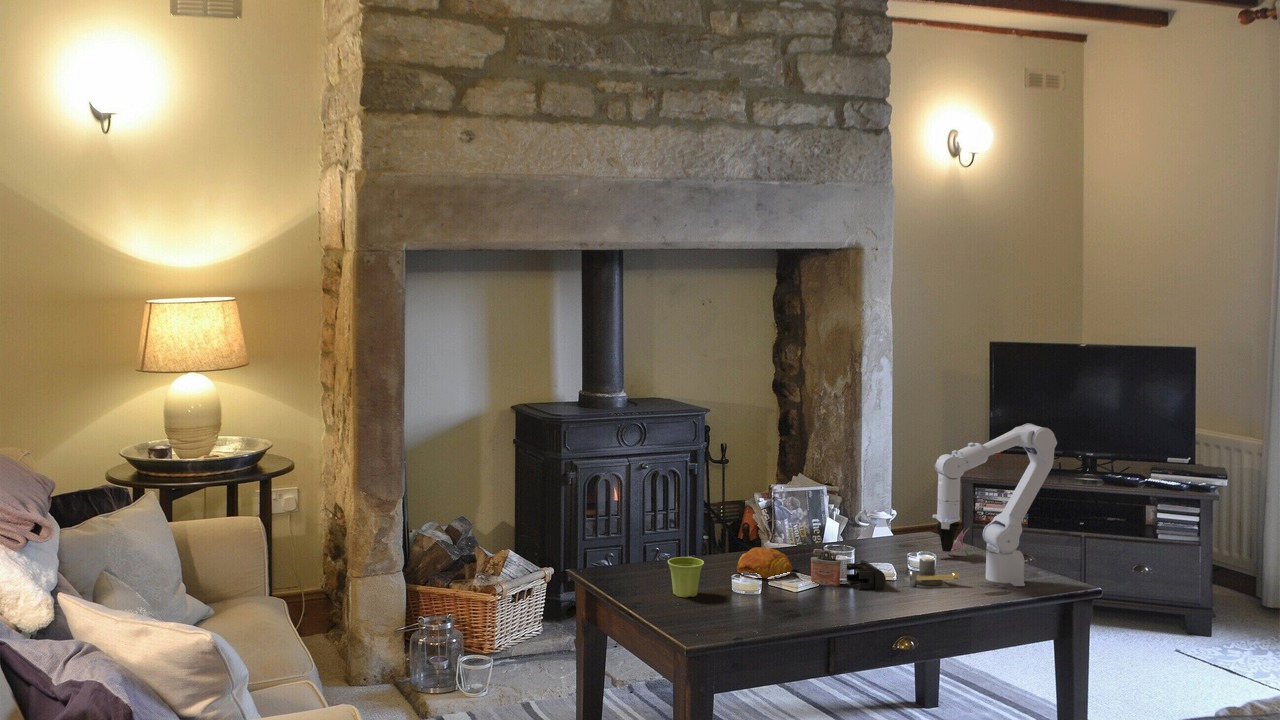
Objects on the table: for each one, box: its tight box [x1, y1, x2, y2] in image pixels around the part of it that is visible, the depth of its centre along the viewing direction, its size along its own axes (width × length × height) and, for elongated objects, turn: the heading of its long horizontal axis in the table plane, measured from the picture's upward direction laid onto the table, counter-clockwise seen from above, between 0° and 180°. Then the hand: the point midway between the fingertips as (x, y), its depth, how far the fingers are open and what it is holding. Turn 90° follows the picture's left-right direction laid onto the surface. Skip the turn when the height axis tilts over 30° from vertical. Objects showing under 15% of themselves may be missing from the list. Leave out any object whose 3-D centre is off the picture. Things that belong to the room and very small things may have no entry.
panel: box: [903, 577, 950, 589], centre depth 297 cm, size 16×13×1 cm
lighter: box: [810, 548, 842, 587], centre depth 297 cm, size 8×3×10 cm, turn 65°
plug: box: [917, 556, 943, 588], centre depth 298 cm, size 8×8×7 cm
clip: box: [909, 570, 960, 588], centre depth 295 cm, size 13×2×4 cm, turn 96°
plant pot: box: [667, 556, 705, 598], centre depth 289 cm, size 9×9×9 cm
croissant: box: [736, 546, 793, 578], centre depth 311 cm, size 14×16×8 cm
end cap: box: [846, 559, 887, 591], centre depth 295 cm, size 10×7×7 cm
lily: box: [940, 527, 972, 561], centre depth 328 cm, size 12×12×10 cm
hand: (947, 550), depth 300 cm, fingers closed
